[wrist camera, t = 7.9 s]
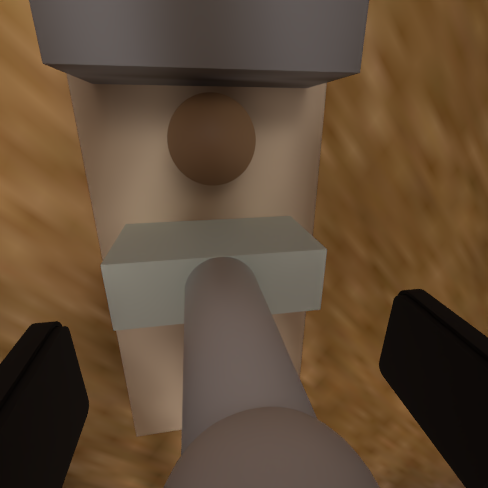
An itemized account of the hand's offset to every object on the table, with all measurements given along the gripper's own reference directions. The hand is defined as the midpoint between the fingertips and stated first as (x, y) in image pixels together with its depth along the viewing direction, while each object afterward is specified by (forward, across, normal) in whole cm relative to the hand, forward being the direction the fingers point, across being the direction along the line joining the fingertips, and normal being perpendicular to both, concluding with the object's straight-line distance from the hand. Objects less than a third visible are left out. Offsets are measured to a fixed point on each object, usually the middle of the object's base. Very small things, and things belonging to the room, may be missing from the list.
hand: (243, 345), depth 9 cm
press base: (+11, 0, +2) cm, 11 cm away
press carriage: (+9, 0, +1) cm, 9 cm away
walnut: (+9, 0, -5) cm, 10 cm away
